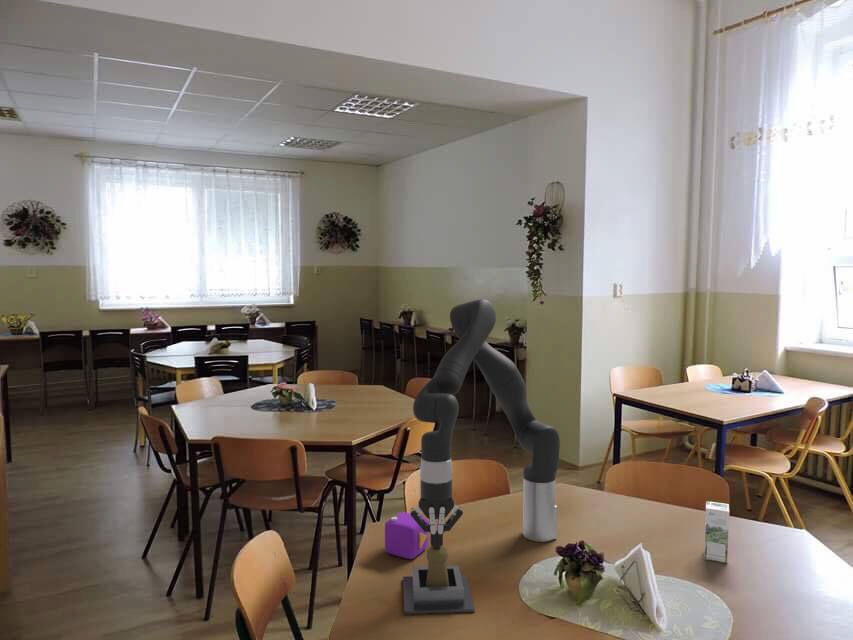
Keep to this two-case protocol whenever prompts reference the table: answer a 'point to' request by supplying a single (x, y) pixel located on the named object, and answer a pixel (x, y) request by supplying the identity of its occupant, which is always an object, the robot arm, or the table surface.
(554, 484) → the robot arm
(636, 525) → the table surface
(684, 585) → the table surface
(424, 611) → the collar mount
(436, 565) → the cork
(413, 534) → the toy camera
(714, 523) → the syrup box
